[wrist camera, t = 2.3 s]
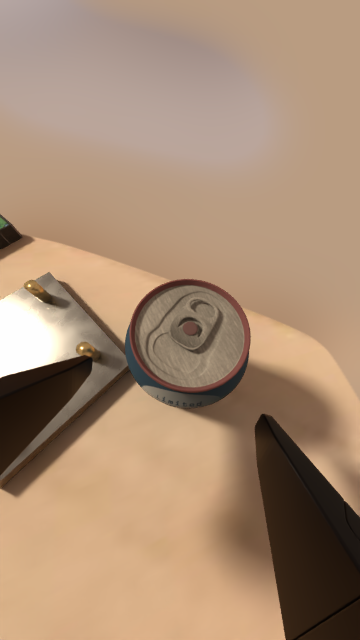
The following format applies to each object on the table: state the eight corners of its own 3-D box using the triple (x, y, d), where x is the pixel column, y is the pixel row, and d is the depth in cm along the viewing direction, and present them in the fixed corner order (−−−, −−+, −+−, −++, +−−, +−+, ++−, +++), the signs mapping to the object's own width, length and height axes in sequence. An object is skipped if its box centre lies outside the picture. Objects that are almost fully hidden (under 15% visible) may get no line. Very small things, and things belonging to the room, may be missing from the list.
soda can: (192, 422, 17) (226, 449, 6) (134, 382, 19) (81, 349, 8) (222, 360, 20) (283, 307, 9) (170, 330, 21) (168, 251, 10)
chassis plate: (134, 365, 19) (125, 355, 16) (0, 488, 15) (-57, 516, 11) (56, 279, 24) (35, 256, 20) (-67, 353, 19) (-123, 340, 15)
